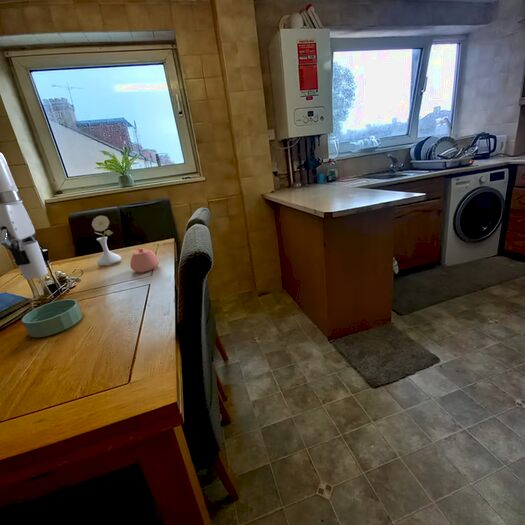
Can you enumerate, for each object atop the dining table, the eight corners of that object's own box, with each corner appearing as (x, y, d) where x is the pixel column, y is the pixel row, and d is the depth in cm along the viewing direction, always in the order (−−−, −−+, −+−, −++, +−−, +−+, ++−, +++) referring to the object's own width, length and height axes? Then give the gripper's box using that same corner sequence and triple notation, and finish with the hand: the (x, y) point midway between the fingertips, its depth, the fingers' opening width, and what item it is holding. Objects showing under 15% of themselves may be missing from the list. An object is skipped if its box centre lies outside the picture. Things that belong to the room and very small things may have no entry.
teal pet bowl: (19, 344, 80) (10, 327, 78) (43, 319, 93) (37, 304, 91) (72, 332, 82) (66, 316, 80) (89, 309, 95) (83, 295, 94)
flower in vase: (92, 268, 140) (75, 219, 132) (109, 260, 151) (94, 214, 142) (114, 267, 137) (98, 217, 128) (129, 259, 147) (115, 212, 139)
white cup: (44, 270, 88) (31, 240, 85) (54, 272, 85) (41, 241, 81) (19, 278, 83) (4, 246, 79) (28, 281, 80) (13, 248, 76)
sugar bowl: (136, 276, 120) (130, 254, 117) (128, 269, 131) (122, 249, 127) (164, 268, 127) (158, 246, 124) (154, 261, 138) (148, 242, 134)
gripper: (6, 198, 83) (31, 255, 89) (-37, 205, 67) (-3, 273, 74) (34, 194, 85) (56, 250, 91) (-1, 200, 69) (29, 268, 75)
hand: (29, 260), depth 82 cm, fingers closed on white cup, 5 cm apart
